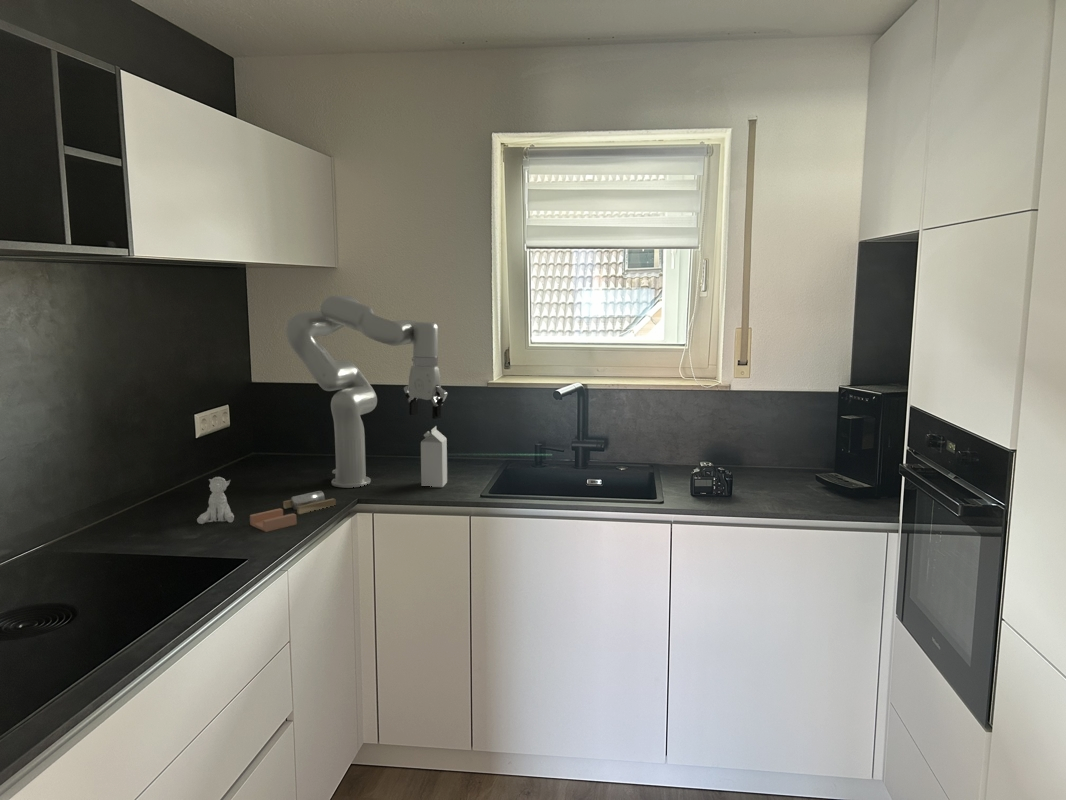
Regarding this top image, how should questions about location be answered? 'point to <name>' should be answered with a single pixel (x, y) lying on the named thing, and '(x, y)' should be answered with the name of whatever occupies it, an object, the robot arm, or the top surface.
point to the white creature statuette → (217, 503)
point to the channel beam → (311, 505)
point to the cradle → (272, 520)
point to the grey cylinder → (306, 499)
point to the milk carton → (434, 459)
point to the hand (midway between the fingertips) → (425, 416)
